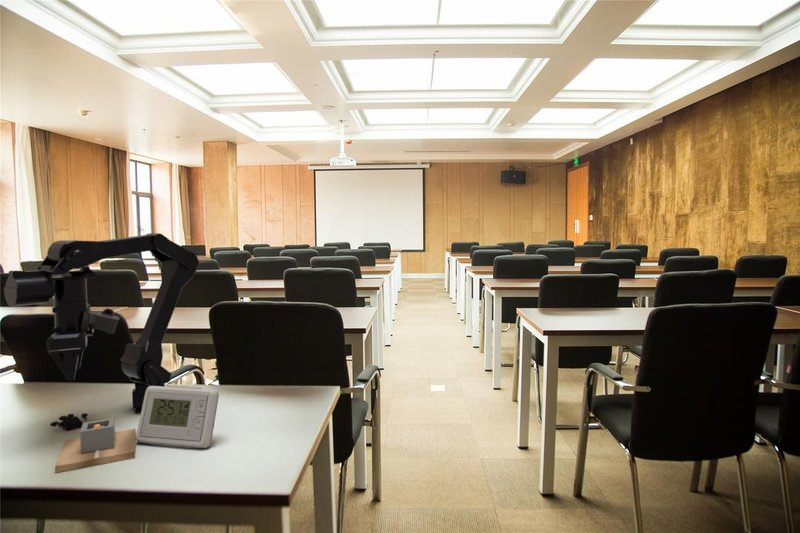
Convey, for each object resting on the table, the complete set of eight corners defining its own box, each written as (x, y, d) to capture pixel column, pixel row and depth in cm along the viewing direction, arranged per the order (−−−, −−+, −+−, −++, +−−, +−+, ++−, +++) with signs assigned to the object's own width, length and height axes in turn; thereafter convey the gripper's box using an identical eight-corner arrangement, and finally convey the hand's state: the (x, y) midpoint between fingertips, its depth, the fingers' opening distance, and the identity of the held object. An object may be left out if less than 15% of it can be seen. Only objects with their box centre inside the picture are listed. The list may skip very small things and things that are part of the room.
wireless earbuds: (57, 430, 98) (46, 417, 100) (55, 440, 98) (45, 427, 101) (93, 419, 104) (83, 407, 106) (92, 428, 104) (82, 417, 107)
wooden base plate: (135, 434, 98) (134, 411, 98) (134, 457, 88) (133, 433, 87) (65, 446, 92) (64, 422, 92) (55, 473, 82) (54, 446, 82)
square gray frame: (84, 443, 91) (83, 419, 91) (115, 437, 94) (114, 414, 93) (80, 453, 86) (80, 428, 86) (114, 447, 89) (113, 423, 89)
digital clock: (130, 444, 94) (129, 391, 93) (168, 427, 102) (166, 378, 101) (193, 458, 88) (192, 401, 87) (228, 438, 96) (227, 387, 95)
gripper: (113, 303, 94) (116, 381, 95) (118, 293, 110) (120, 360, 111) (44, 307, 89) (47, 389, 90) (59, 296, 105) (62, 366, 106)
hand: (73, 374), depth 99 cm, fingers open, 9 cm apart
